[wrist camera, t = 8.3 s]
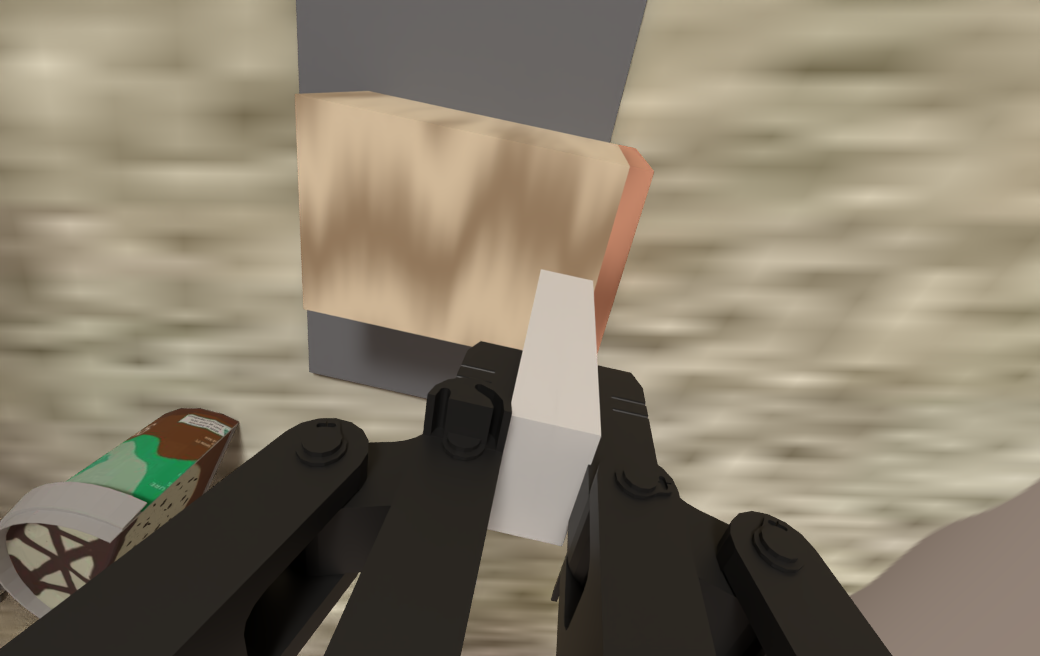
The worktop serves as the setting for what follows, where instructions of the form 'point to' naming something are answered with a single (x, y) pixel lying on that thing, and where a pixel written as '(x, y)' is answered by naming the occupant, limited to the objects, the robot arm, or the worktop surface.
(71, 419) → the worktop surface
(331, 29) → the rubber mat
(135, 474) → the food container
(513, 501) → the robot arm
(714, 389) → the worktop surface
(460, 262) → the maple block
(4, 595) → the coffee press
